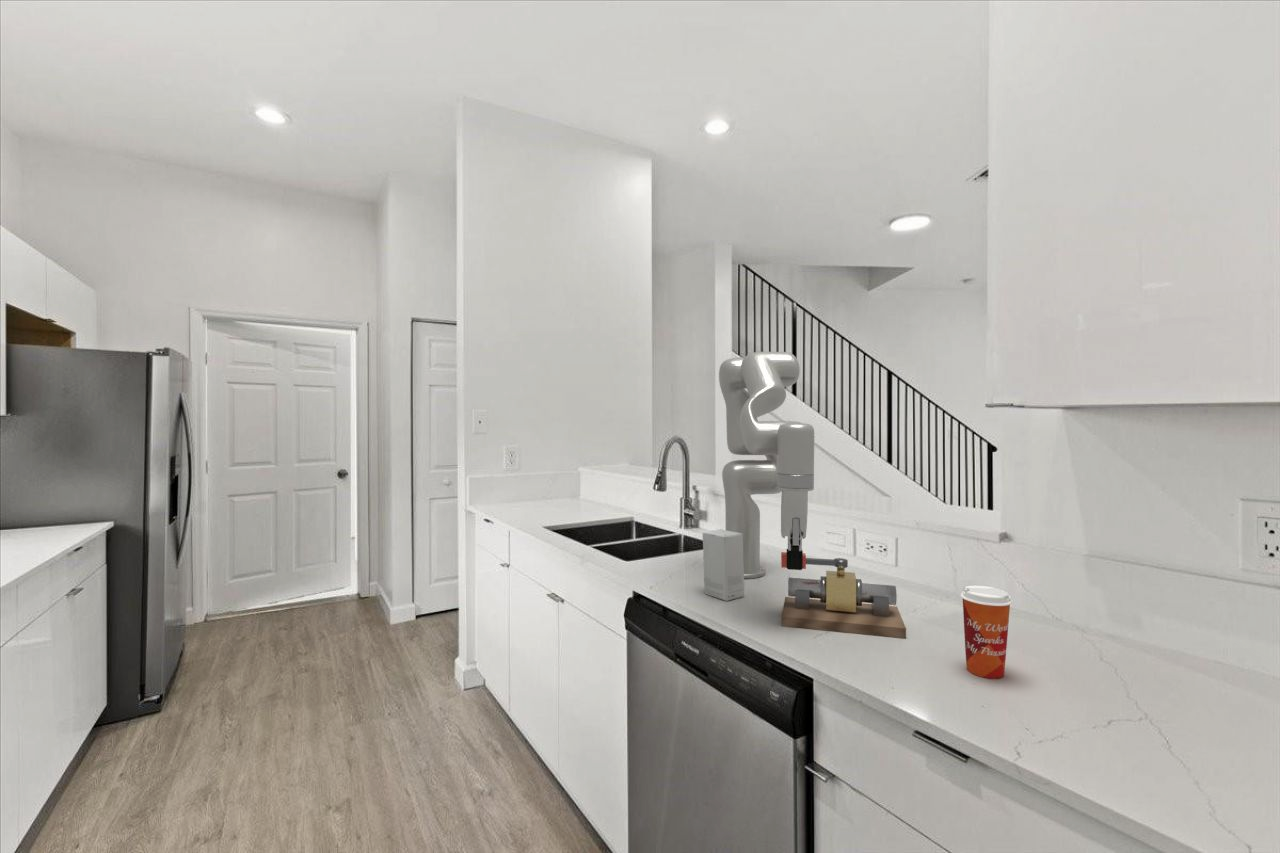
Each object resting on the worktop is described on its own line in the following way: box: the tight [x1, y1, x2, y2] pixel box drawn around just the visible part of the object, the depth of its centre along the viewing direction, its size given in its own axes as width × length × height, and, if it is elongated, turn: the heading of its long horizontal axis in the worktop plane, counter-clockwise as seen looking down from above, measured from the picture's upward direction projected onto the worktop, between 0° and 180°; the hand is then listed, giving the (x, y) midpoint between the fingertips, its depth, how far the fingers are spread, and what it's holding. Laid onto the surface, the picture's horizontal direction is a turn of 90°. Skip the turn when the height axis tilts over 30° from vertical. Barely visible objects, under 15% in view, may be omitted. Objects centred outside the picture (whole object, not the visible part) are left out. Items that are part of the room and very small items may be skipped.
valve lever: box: [780, 551, 849, 570], centre depth 130 cm, size 14×3×3 cm, turn 76°
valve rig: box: [781, 567, 907, 639], centre depth 127 cm, size 24×14×11 cm, turn 73°
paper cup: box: [960, 585, 1014, 680], centre depth 102 cm, size 8×8×14 cm
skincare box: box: [702, 528, 745, 602], centre depth 145 cm, size 8×7×16 cm
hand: (794, 568), depth 124 cm, fingers closed
